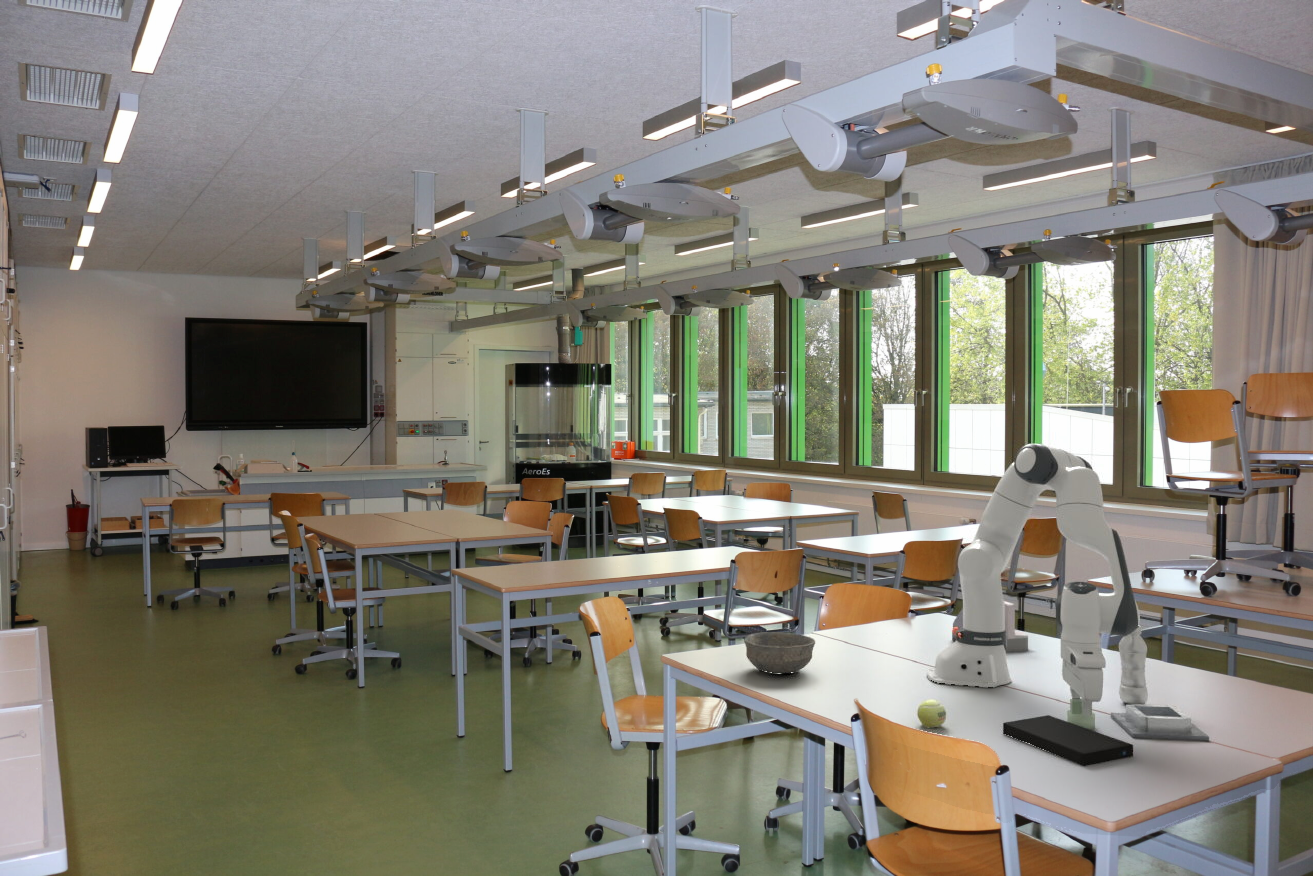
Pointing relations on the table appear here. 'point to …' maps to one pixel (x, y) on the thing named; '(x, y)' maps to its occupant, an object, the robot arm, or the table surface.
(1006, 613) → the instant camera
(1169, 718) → the cap socket
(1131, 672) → the plastic bottle
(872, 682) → the table surface
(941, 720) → the tennis ball
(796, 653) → the bowl
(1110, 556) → the robot arm
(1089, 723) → the stepped sage green block
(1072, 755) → the external hard drive
